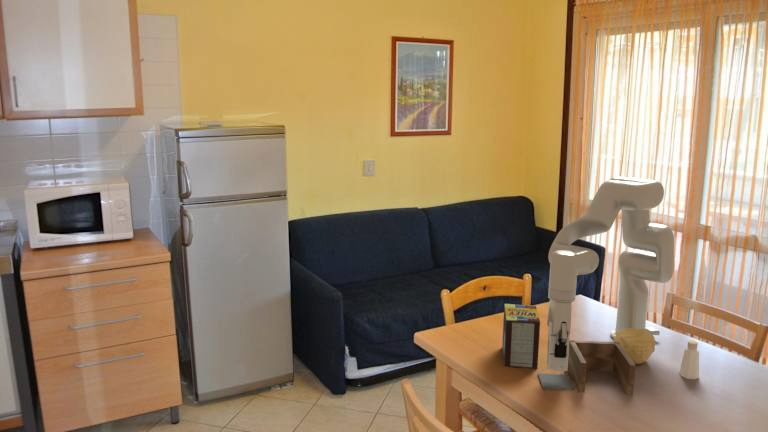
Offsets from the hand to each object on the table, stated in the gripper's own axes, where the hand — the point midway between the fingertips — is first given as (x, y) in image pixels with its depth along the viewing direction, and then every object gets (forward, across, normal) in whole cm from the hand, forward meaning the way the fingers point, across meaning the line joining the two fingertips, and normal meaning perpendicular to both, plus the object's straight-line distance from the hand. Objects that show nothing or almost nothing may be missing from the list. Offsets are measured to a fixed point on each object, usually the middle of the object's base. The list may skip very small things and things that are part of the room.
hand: (557, 352), depth 180 cm
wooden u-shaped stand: (+10, -2, +13) cm, 16 cm away
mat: (+10, 0, 0) cm, 10 cm away
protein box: (+10, -17, -8) cm, 21 cm away
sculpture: (+10, -19, +28) cm, 35 cm away
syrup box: (+5, 0, 0) cm, 5 cm away
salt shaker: (+10, -9, +42) cm, 44 cm away
